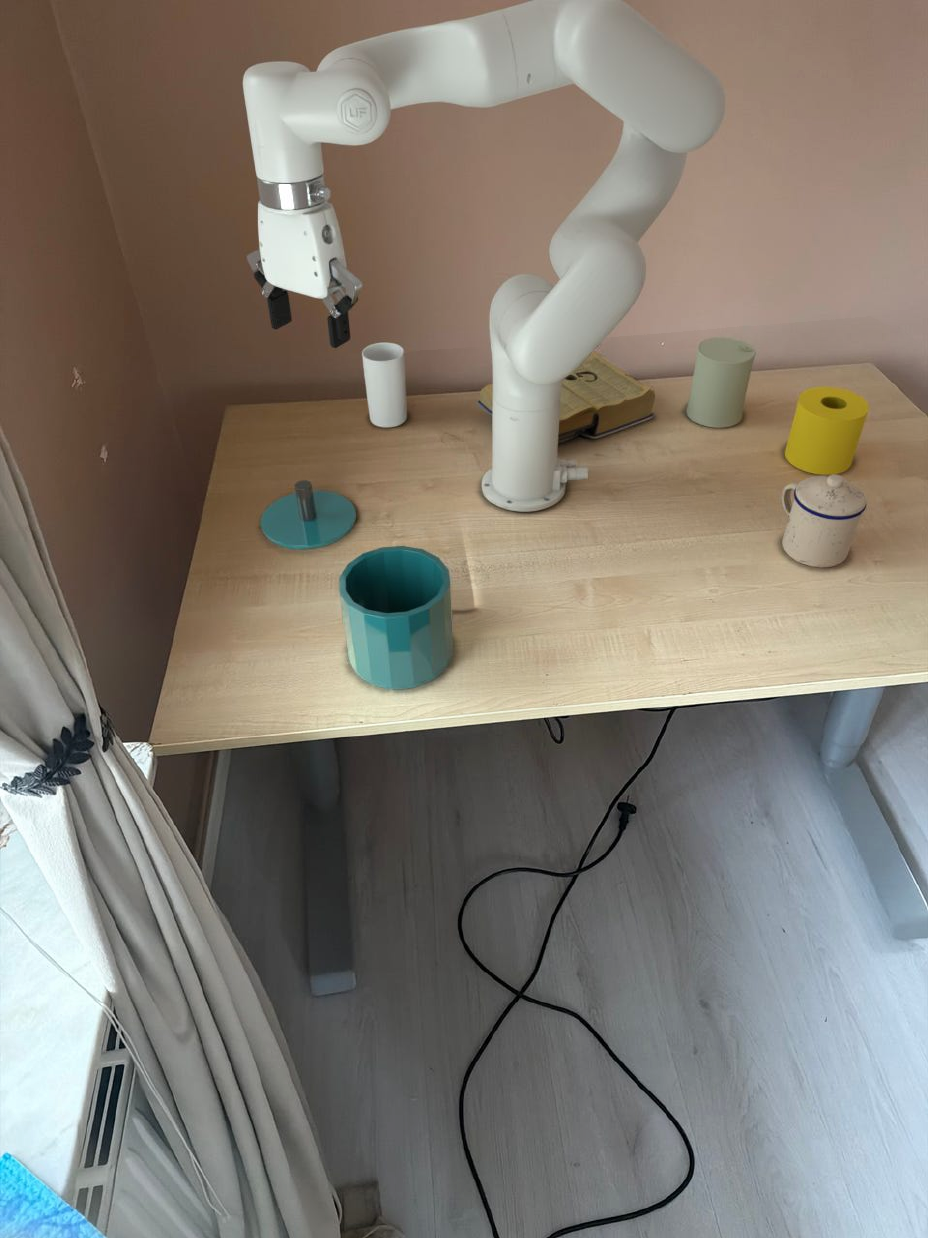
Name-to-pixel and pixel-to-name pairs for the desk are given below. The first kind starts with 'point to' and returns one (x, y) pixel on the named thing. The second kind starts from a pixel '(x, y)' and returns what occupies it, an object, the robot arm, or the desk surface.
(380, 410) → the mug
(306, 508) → the lid
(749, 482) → the desk surface
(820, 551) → the teacup with lid
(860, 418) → the yellow toilet paper roll
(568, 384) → the book
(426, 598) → the pot
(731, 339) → the can
